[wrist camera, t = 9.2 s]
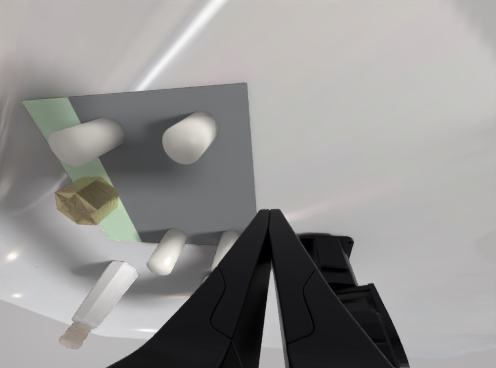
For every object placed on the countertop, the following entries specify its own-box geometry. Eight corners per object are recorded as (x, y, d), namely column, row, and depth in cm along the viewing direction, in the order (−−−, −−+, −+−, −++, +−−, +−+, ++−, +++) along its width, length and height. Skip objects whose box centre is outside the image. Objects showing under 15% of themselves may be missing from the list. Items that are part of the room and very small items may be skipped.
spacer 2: (189, 244, 28) (174, 275, 24) (169, 243, 29) (151, 274, 24) (184, 228, 27) (166, 260, 22) (163, 228, 27) (142, 258, 23)
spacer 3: (220, 141, 19) (204, 164, 15) (191, 143, 20) (169, 164, 16) (215, 110, 18) (196, 125, 14) (184, 112, 18) (156, 127, 14)
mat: (258, 244, 27) (258, 247, 27) (111, 238, 30) (109, 240, 30) (246, 82, 17) (246, 83, 16) (25, 100, 20) (20, 101, 20)
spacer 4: (244, 246, 27) (238, 280, 23) (223, 245, 27) (213, 278, 23) (242, 230, 25) (235, 264, 21) (219, 229, 26) (208, 262, 22)
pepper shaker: (137, 282, 36) (89, 357, 27) (108, 272, 36) (49, 345, 27) (140, 267, 34) (88, 345, 24) (108, 256, 33) (43, 331, 24)
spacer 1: (129, 145, 21) (92, 166, 17) (104, 146, 21) (62, 166, 17) (117, 116, 19) (73, 131, 15) (91, 117, 20) (40, 132, 15)
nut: (126, 206, 26) (106, 225, 23) (91, 206, 27) (68, 223, 24) (111, 176, 23) (86, 192, 20) (73, 176, 24) (44, 192, 21)
